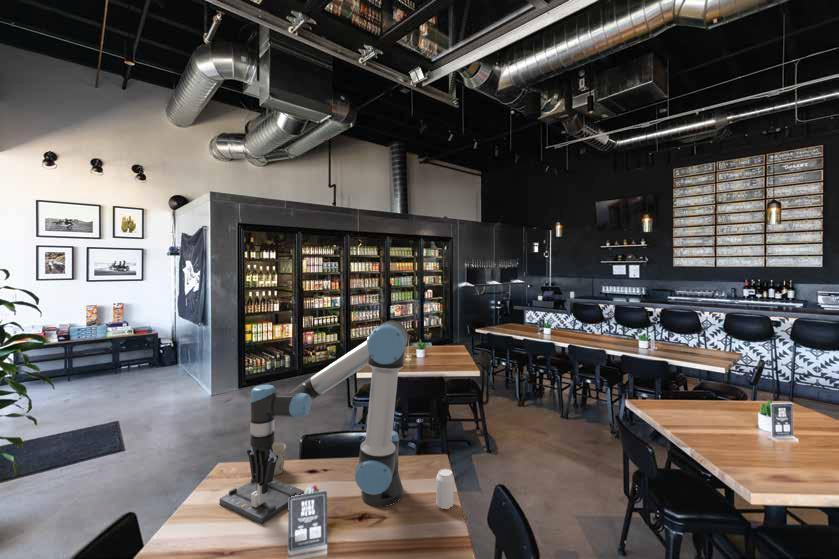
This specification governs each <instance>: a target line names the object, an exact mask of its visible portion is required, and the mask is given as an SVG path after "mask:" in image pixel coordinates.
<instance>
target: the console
mask: <svg viewBox="0 0 839 559" xmlns="http://www.w3.org/2000/svg"><path fill="white" fill-rule="evenodd" d="M255 491H257V483H256V482H255V479H254V480H253V479H252V478H251V479H250V481H249V482H246V483H245V484H244V485H242V486H239V487H238V488H236V487H234V488H232V489H231V490H229V491H228V493H226V494H225V495H223V496H222V497H219V505H220V506H223V507H224V508H227V509H229V510H230V511H233V512H235V513H237V514H239V515H241V516H243V517H244V518H245V517H246V518H247V519H249V520H251V521H253V522H256V523H257V524H259V525H262V526H263V525H264V524H265V523H267V522H269V520H271V519H274V518H275V517H276V516H277V515H279V514H280V513H282V512H283V511H284V510H287V508H289V507H288V498H289V497H291V496H295V495H301V494H304V495H305V490H304V489H300V488H298V487H295V486H293V485H291V484H287V483H285V482H282V481H280V480H278V479H275V478H273V481H272V482H271V483H269V484H268V492H267V500H266V502H264V503H262V504H261V505H259V506H258V507H256V508H255V507H253V506H251V493H253V492H255Z"/></svg>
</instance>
